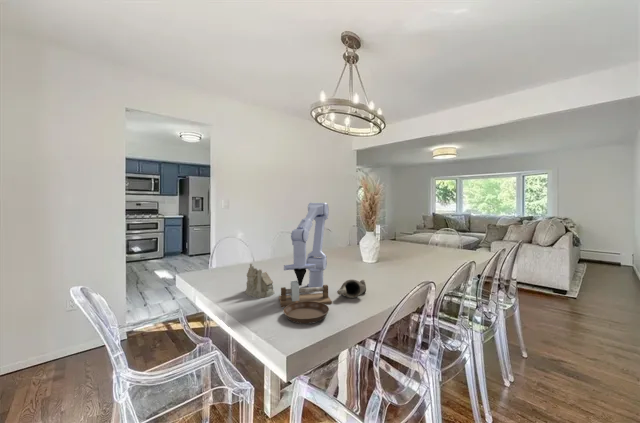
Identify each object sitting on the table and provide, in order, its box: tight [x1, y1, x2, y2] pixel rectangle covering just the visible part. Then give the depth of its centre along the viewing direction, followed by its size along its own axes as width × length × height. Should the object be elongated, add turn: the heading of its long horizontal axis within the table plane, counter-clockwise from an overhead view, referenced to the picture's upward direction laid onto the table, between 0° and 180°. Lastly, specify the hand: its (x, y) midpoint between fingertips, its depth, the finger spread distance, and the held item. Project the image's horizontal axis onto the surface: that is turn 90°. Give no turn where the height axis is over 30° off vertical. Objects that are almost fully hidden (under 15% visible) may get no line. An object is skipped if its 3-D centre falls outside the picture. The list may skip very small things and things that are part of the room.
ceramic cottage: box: [244, 263, 275, 299], centre depth 141 cm, size 16×16×15 cm
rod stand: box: [278, 284, 333, 308], centre depth 127 cm, size 12×22×6 cm, turn 102°
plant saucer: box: [282, 301, 330, 325], centre depth 110 cm, size 18×18×3 cm
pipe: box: [336, 279, 367, 299], centre depth 135 cm, size 16×9×15 cm
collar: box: [290, 280, 300, 302], centre depth 126 cm, size 7×3×7 cm, turn 12°
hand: (299, 285), depth 129 cm, fingers closed
